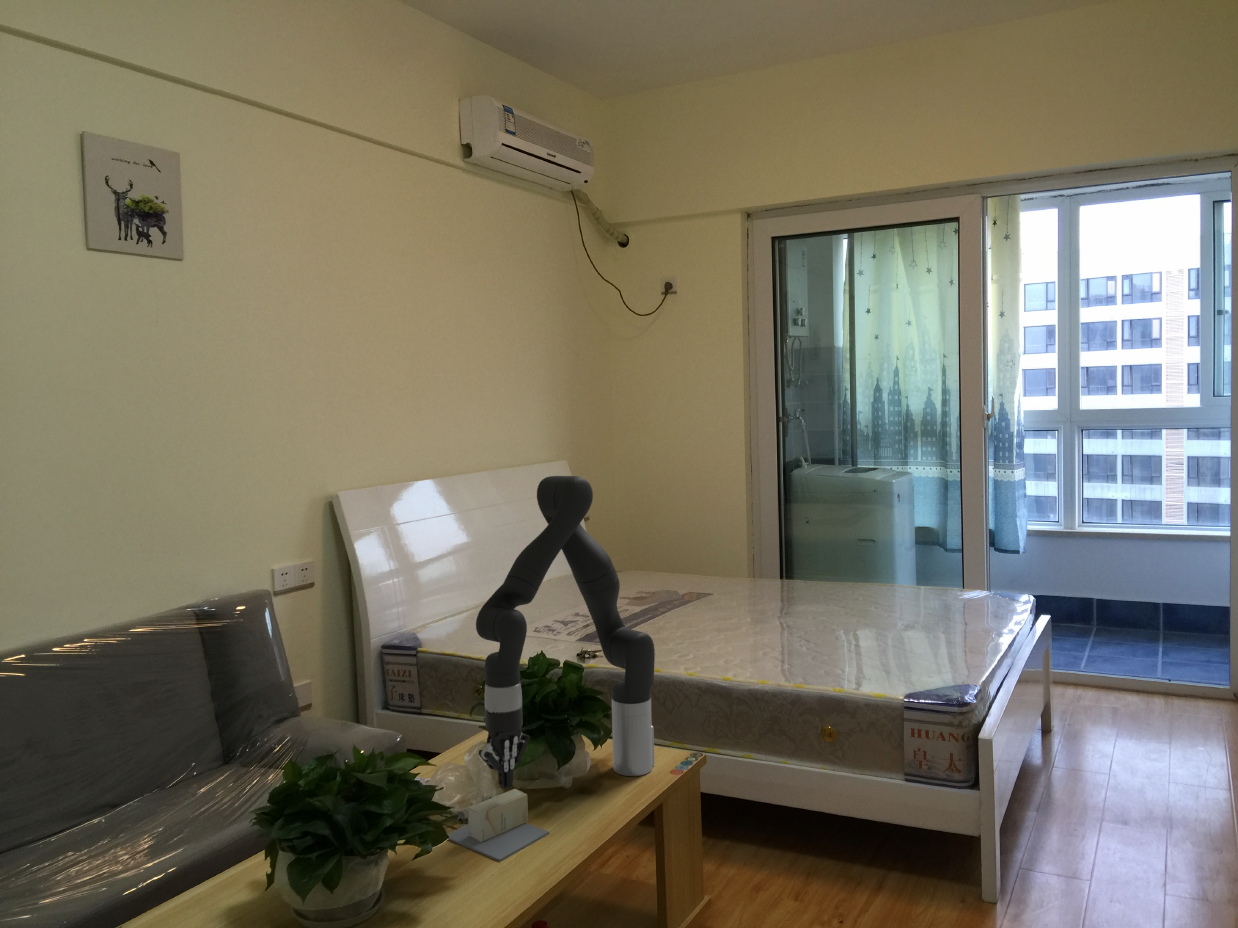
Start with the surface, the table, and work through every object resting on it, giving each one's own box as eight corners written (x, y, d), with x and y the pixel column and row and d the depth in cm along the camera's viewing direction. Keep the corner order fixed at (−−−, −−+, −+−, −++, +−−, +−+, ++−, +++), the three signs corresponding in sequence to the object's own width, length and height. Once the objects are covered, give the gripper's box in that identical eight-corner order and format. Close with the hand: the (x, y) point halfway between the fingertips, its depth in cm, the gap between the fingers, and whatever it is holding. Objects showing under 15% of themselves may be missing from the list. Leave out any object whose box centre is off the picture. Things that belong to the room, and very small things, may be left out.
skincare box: (528, 821, 199) (481, 844, 191) (514, 815, 203) (468, 836, 194) (527, 792, 199) (480, 813, 190) (513, 786, 202) (467, 806, 193)
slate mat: (494, 812, 205) (494, 810, 205) (549, 833, 195) (549, 831, 195) (444, 837, 194) (443, 835, 194) (499, 861, 184) (499, 859, 184)
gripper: (513, 692, 202) (515, 771, 204) (466, 709, 192) (469, 793, 193) (539, 699, 197) (541, 780, 199) (492, 717, 187) (495, 803, 189)
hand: (505, 786), depth 196 cm, fingers closed
